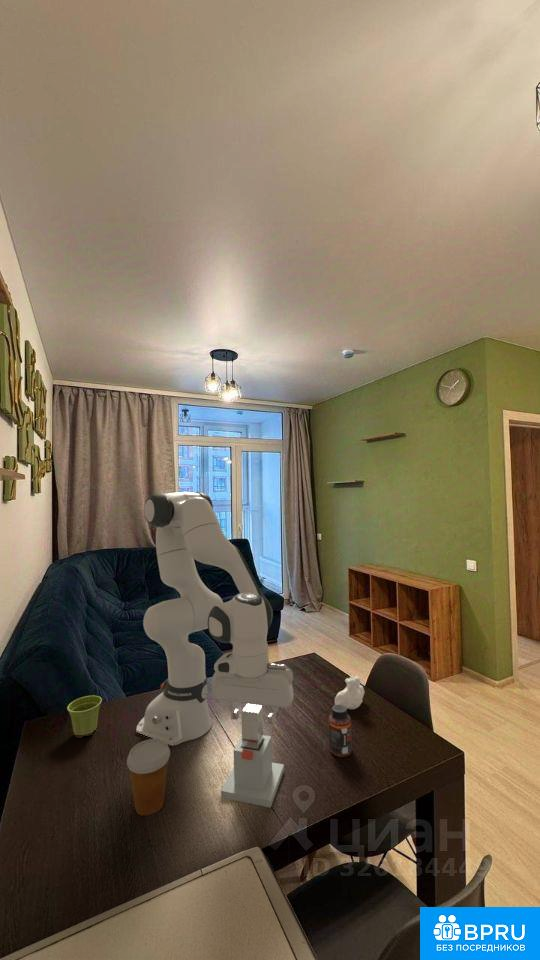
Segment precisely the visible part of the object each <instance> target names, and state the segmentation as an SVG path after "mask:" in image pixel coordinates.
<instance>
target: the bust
mask: <svg viewBox="0 0 540 960" xmlns="http://www.w3.org/2000/svg"><path fill="white" fill-rule="evenodd" d="M344 682H345V683H346V687H345V688H344V689H343V690H340V691H339V692H337V694H336V696H335V697H334V705H343V706H345V707H346V708H347V710H348V709H349V710H355V709H358V708H359V707H360V706H361V704H362V703H363V698H364V695H365V688H364V686H363V685H362V684H361V678H360V675H354V674H353V675H350V676H349V678H348V677H346V678H345V679H344Z"/></svg>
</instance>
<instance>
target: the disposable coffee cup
mask: <svg viewBox="0 0 540 960" xmlns="http://www.w3.org/2000/svg"><path fill="white" fill-rule="evenodd" d="M170 756H171V749H170V747H169V745H168V744H167V743H166V742H165V741H163V740H161V739H151V738H149V739H145V740H143V741H139V742H138V743H137V744H134V746H133V747H132V748H131V749H130V751H129V753H128V756H127V759H126V765H127V767H128V770H129V776H130V782H131V790H132V797H133V803H134V810H136V811H135V812H137V813H136V814H137V815H139V814H140V815H139V816H143V815H147V816H151V815H153V813H154V814H156V813H157V812H159V811H160V810H161V809H162V807H164V806H163V805H164V803H165V795H166V794H165V793H166V784H167V772H168V764H169V759H170ZM150 814H151V815H150Z"/></svg>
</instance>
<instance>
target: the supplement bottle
mask: <svg viewBox="0 0 540 960" xmlns="http://www.w3.org/2000/svg"><path fill="white" fill-rule="evenodd" d="M328 735H329V737H328V738H329V750H330V752H331V754H332V755H334V756H336V757H339V758H346V757H348V756H350V755H351V753H352V750H353V745H352V720H351V716H350V715H349V714H348V709H347V708H346V707H345V706H343V705H335V704H334V705H333V706H332V707H331V714H329V716H328Z"/></svg>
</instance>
